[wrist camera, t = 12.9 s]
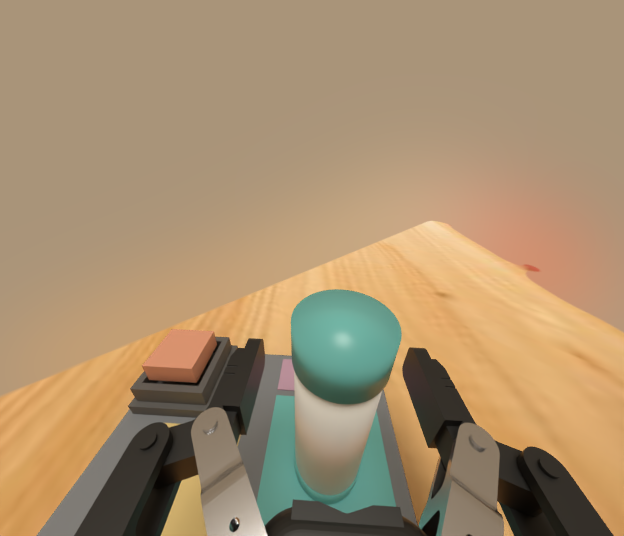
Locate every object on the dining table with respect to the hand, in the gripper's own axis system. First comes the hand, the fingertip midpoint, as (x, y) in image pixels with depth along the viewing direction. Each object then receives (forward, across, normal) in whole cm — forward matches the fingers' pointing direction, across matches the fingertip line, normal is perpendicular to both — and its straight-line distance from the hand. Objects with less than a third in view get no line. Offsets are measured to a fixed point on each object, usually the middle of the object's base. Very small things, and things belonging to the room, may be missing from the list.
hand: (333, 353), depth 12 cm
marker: (-2, 0, +8) cm, 8 cm away
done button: (+3, +11, +6) cm, 13 cm away
